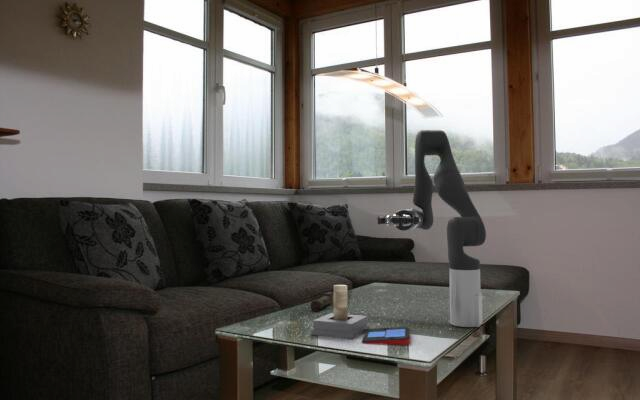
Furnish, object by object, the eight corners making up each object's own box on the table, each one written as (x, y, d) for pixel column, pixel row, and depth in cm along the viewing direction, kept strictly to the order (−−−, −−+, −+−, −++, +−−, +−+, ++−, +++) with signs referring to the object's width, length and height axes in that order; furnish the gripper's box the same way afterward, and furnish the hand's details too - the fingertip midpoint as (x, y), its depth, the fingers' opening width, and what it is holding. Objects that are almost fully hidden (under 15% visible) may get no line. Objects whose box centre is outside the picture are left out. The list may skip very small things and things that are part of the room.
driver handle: (349, 325, 155) (349, 285, 155) (344, 328, 151) (343, 287, 151) (337, 324, 156) (337, 284, 157) (331, 327, 153) (331, 286, 153)
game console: (366, 332, 154) (365, 325, 154) (409, 334, 152) (409, 326, 152) (361, 345, 140) (361, 336, 140) (409, 346, 138) (409, 338, 138)
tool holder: (369, 329, 157) (369, 315, 157) (352, 339, 145) (352, 324, 145) (330, 325, 162) (330, 312, 162) (311, 334, 151) (310, 320, 151)
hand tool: (320, 312, 185) (320, 299, 186) (310, 311, 187) (310, 298, 187) (338, 303, 203) (338, 291, 203) (329, 302, 205) (329, 290, 205)
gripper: (388, 209, 193) (372, 209, 179) (426, 209, 187) (412, 209, 172) (388, 230, 193) (372, 231, 178) (426, 230, 187) (413, 232, 172)
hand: (392, 220), depth 175 cm, fingers open, 8 cm apart
